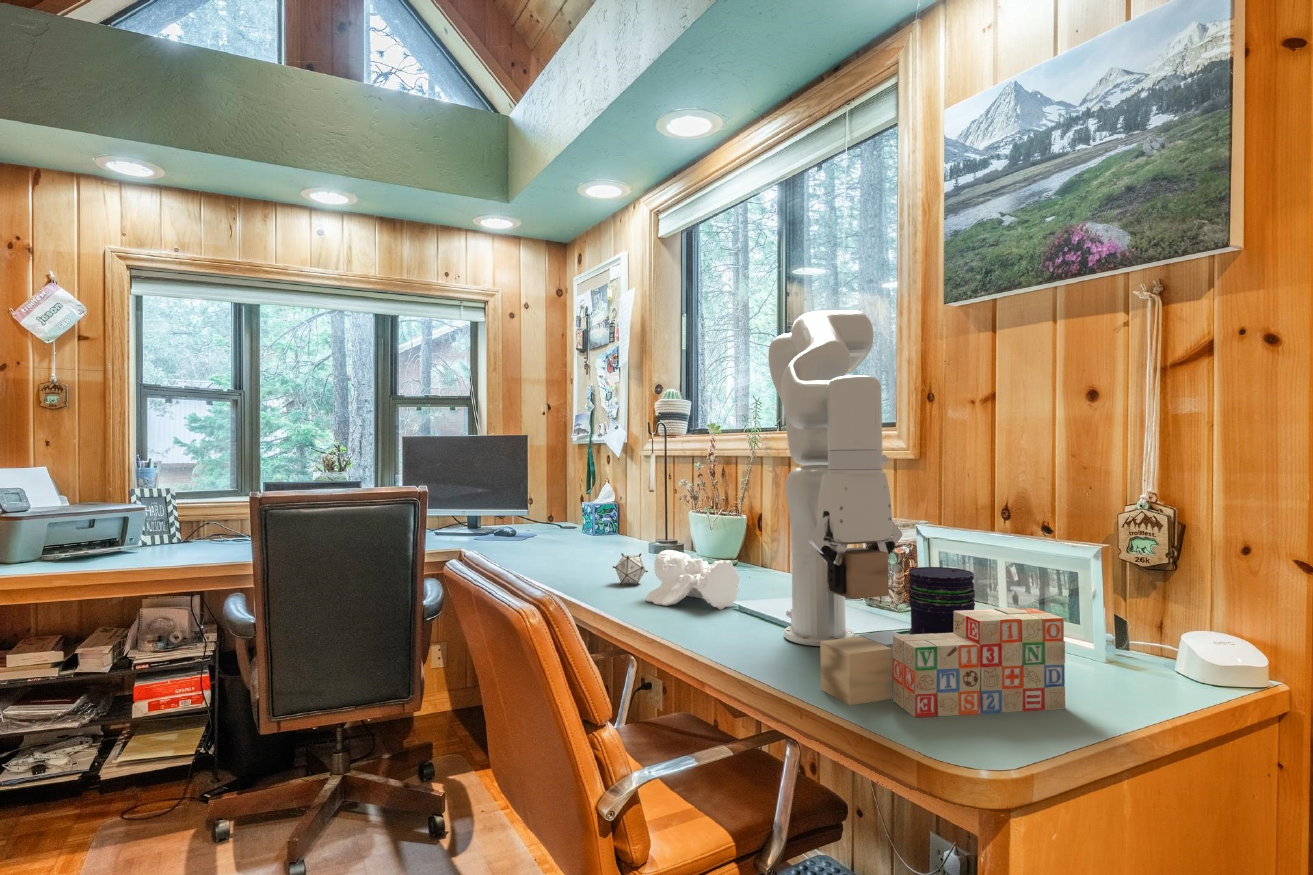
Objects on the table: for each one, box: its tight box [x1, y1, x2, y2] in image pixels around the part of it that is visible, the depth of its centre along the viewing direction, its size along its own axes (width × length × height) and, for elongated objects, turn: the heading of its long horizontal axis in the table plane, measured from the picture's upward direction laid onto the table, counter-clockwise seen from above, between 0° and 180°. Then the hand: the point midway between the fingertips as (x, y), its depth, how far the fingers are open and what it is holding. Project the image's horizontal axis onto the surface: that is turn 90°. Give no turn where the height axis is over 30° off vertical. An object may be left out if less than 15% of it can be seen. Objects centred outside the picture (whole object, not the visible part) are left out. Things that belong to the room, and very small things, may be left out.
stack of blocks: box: [892, 607, 1066, 718], centre depth 96 cm, size 21×6×12 cm, turn 98°
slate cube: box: [858, 630, 902, 685], centre depth 109 cm, size 6×6×6 cm
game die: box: [612, 552, 649, 587], centre depth 184 cm, size 9×8×10 cm
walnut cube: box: [827, 547, 890, 600], centre depth 101 cm, size 6×6×6 cm
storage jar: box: [907, 566, 976, 635], centre depth 113 cm, size 10×10×15 cm
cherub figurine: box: [645, 549, 740, 610], centre depth 161 cm, size 13×12×20 cm
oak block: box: [819, 635, 893, 706], centre depth 101 cm, size 7×7×7 cm
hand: (857, 588), depth 101 cm, fingers closed on walnut cube, 6 cm apart
